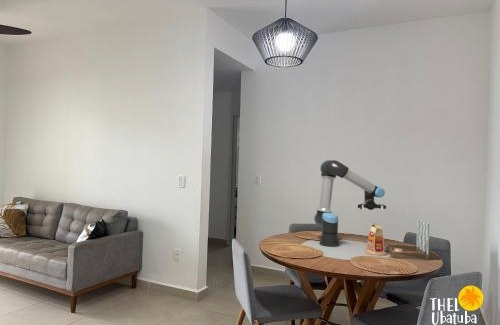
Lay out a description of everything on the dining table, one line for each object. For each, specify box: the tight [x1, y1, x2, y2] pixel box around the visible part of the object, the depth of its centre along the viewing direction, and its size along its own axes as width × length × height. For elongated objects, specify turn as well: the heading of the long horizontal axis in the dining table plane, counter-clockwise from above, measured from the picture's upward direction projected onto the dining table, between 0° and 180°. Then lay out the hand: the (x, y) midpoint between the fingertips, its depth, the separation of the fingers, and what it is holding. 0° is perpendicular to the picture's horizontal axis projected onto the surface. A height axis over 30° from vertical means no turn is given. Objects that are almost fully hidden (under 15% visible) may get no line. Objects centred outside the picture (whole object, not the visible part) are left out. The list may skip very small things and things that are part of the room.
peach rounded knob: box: [393, 248, 403, 253], centre depth 234 cm, size 5×5×5 cm
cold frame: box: [384, 218, 430, 261], centre depth 240 cm, size 25×22×24 cm
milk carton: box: [365, 222, 385, 253], centre depth 242 cm, size 9×9×20 cm
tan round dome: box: [364, 248, 388, 256], centre depth 242 cm, size 15×15×1 cm
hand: (372, 208), depth 254 cm, fingers open, 13 cm apart
